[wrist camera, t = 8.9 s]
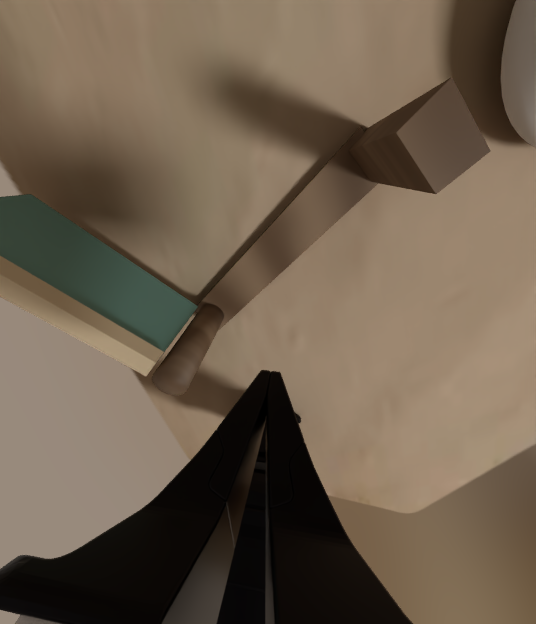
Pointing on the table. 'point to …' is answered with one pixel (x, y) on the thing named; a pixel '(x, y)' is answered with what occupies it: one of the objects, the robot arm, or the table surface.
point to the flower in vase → (520, 70)
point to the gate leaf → (85, 285)
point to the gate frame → (336, 208)
